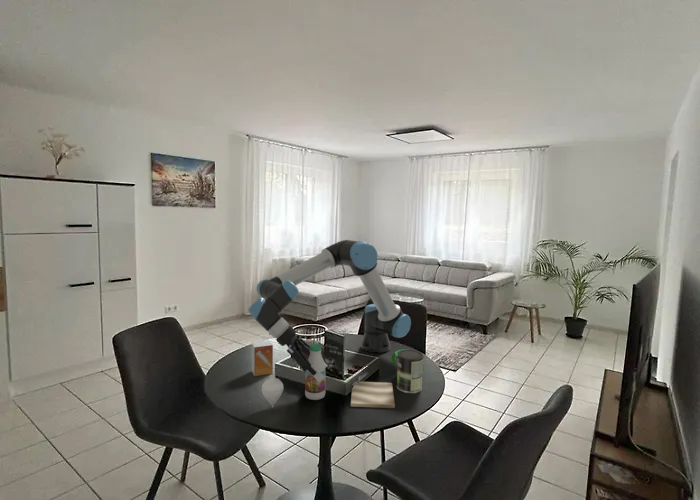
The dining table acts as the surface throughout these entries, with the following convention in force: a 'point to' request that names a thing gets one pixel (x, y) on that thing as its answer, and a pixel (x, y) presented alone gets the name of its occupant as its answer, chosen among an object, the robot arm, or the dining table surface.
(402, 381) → the coffee can
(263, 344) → the small box
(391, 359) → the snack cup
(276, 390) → the spinning top
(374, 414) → the dining table surface
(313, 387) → the milk bottle
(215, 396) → the dining table surface
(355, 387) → the ash board
